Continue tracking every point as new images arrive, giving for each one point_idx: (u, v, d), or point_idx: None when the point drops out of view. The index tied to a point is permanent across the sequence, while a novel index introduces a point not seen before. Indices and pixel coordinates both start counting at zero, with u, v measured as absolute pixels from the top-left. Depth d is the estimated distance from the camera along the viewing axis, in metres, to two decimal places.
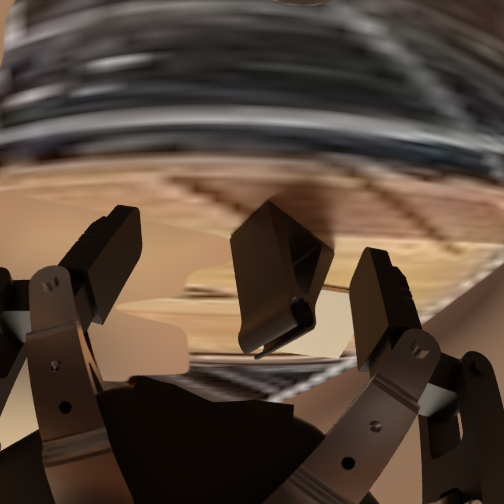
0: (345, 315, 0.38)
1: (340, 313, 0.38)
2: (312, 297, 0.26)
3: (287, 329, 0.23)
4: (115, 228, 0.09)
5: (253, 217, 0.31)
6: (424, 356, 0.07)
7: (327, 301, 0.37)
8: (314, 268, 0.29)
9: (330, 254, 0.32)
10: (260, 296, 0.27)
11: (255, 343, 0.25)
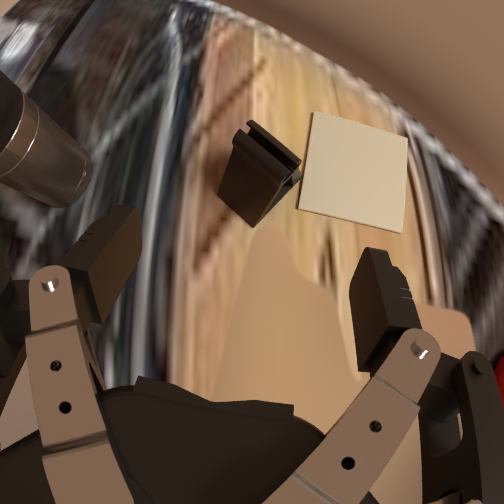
0: (340, 133, 0.40)
1: (337, 137, 0.40)
2: None
3: (245, 135, 0.28)
4: (115, 228, 0.09)
5: (230, 205, 0.39)
6: (424, 356, 0.07)
7: (322, 148, 0.40)
8: None
9: None
10: (254, 174, 0.31)
11: (272, 161, 0.28)
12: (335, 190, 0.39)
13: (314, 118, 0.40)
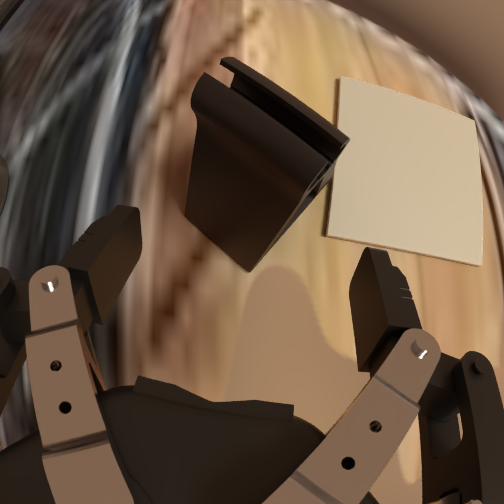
0: (384, 109, 0.23)
1: (381, 115, 0.23)
2: None
3: (218, 85, 0.11)
4: (115, 228, 0.09)
5: (207, 234, 0.22)
6: (424, 356, 0.07)
7: (360, 132, 0.23)
8: None
9: None
10: (244, 175, 0.15)
11: (283, 141, 0.11)
12: (386, 201, 0.22)
13: (342, 86, 0.24)
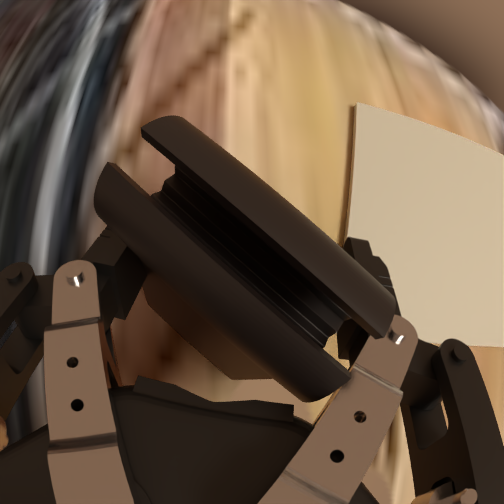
0: (412, 149, 0.18)
1: (408, 158, 0.18)
2: None
3: (132, 194, 0.06)
4: None
5: None
6: (400, 341, 0.07)
7: (381, 184, 0.18)
8: None
9: None
10: None
11: (263, 334, 0.05)
12: (410, 282, 0.17)
13: (359, 118, 0.18)
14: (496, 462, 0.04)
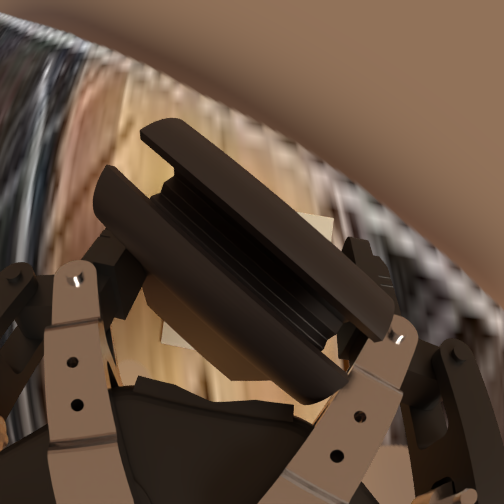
0: None
1: None
2: None
3: (131, 197, 0.06)
4: None
5: (176, 332, 0.16)
6: (400, 341, 0.07)
7: None
8: None
9: None
10: None
11: (261, 337, 0.05)
12: None
13: None
14: (496, 462, 0.04)
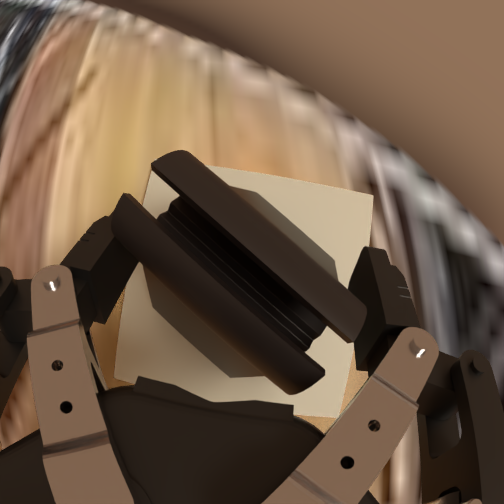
0: None
1: None
2: None
3: (145, 222, 0.07)
4: None
5: (179, 332, 0.18)
6: (422, 355, 0.07)
7: None
8: None
9: None
10: None
11: (253, 337, 0.07)
12: (185, 343, 0.18)
13: (152, 177, 0.19)
14: (503, 475, 0.04)
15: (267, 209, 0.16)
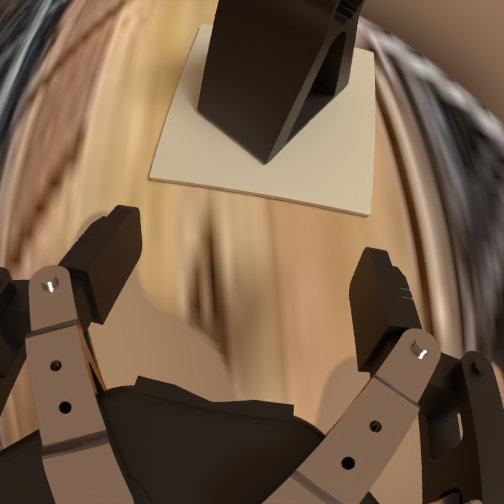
0: None
1: None
2: None
3: None
4: (115, 228, 0.09)
5: (220, 124, 0.19)
6: (424, 356, 0.07)
7: None
8: None
9: None
10: (267, 26, 0.12)
11: None
12: (224, 138, 0.20)
13: (200, 34, 0.21)
14: None
15: None
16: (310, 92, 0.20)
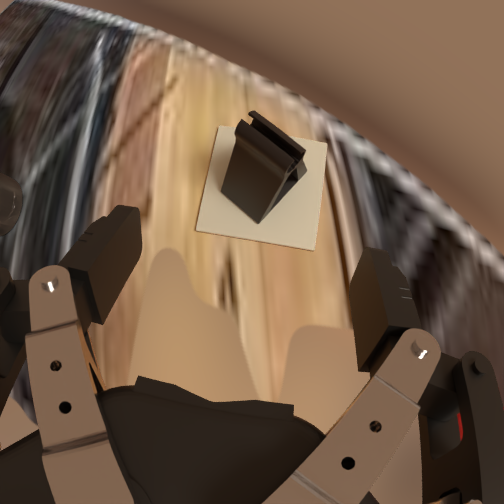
0: None
1: None
2: None
3: (248, 125, 0.27)
4: (115, 228, 0.09)
5: (234, 201, 0.38)
6: (424, 356, 0.07)
7: (224, 164, 0.39)
8: None
9: None
10: (258, 167, 0.30)
11: (276, 151, 0.27)
12: (236, 208, 0.38)
13: (218, 133, 0.39)
14: None
15: None
16: None
